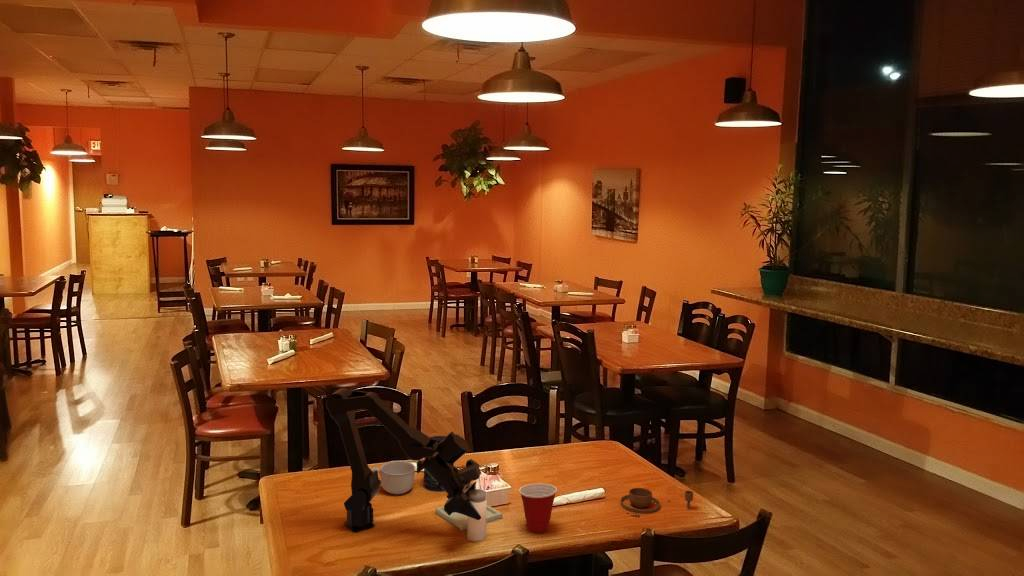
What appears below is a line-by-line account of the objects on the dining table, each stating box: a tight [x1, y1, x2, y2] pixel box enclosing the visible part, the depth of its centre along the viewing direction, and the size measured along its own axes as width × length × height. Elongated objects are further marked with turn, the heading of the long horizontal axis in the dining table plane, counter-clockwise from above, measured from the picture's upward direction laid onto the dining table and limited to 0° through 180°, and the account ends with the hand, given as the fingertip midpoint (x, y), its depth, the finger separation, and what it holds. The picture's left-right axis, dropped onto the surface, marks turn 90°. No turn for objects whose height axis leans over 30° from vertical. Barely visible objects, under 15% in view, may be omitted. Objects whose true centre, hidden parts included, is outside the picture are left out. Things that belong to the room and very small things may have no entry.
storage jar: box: [423, 435, 454, 493], centre depth 247 cm, size 10×10×15 cm
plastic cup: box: [518, 482, 558, 534], centre depth 218 cm, size 11×11×12 cm
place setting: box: [619, 487, 694, 518], centre depth 234 cm, size 18×20×6 cm
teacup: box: [370, 460, 416, 495], centre depth 243 cm, size 14×11×8 cm
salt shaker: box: [466, 488, 488, 542], centre depth 212 cm, size 5×5×13 cm
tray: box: [435, 504, 503, 532], centre depth 226 cm, size 14×14×2 cm
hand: (481, 514), depth 212 cm, fingers closed on salt shaker, 5 cm apart
